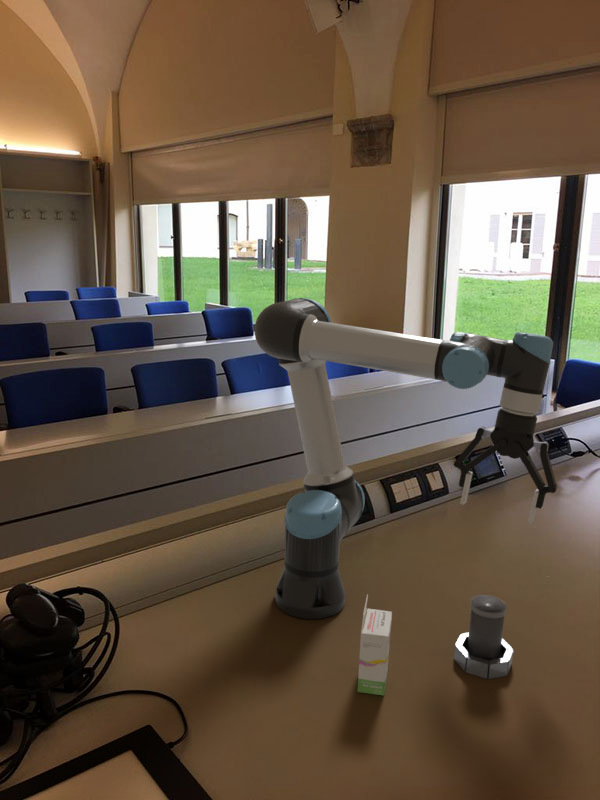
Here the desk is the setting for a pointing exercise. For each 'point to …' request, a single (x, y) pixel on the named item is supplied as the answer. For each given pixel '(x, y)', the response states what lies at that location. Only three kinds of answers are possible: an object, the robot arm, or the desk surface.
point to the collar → (483, 660)
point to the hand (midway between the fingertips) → (496, 512)
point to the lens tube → (486, 627)
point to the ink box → (374, 651)
